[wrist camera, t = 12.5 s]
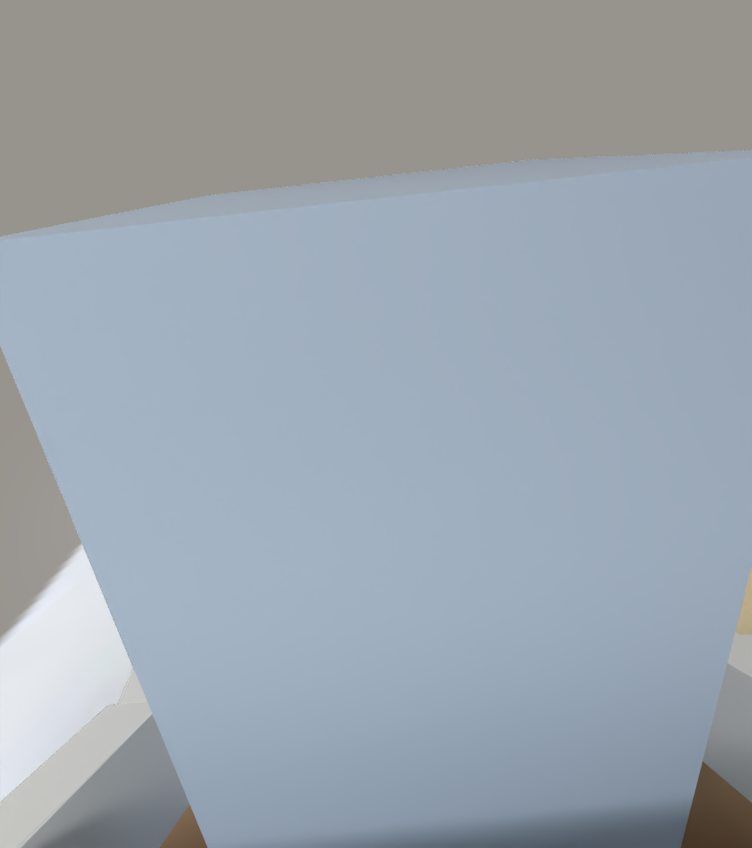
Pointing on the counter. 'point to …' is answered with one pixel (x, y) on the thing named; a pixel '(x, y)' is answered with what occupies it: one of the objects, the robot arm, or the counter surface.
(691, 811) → the shelf
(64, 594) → the counter surface
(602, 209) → the light blue upright block
